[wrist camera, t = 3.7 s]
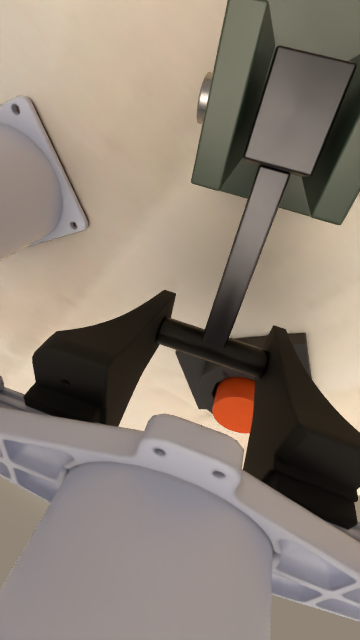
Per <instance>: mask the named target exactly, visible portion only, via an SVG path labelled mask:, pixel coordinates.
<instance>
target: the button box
mask: <svg viewBox="0 0 360 640" xmlns="http://www.w3.org/2000/svg"><path fill="white" fill-rule="evenodd" d="M267 337H268V336H265V337H253V338H241V339H235V340H238V341H241V342H244V343H247V344H250V345H253V346H256V347H259V348H262V347H263V345H264V343H265V341H266V339H267ZM289 338H290V340H291V342H292V344H293V346H294V349H295V351H296V353H297V355H298V357H299V359H300V361H301V362H302V364H303V366H304V368H305V369H306V371H307V373H308V374H309V376H310V377H311V372H310V364H309V356H308V348H307V341H306V334H305V333H301V334H289ZM176 355H177V358H178V360H179V363H180V365H181V367H182V370H183V372H184V375H185V377H186V379H187V382H188V384H189V387H190V389H191V391H192V394H193V396H194V399H195V401H196V403H197V406H198V408H199V409H207V410H208V411H210V412H211V413H212V414H213V412H212V409H213V404H214V400H215V396H216V391H217V387H218V385H219V384H220V383H221V382H222V381H223V380H225V379H227V378H230V377H246V378H249V379H252V380H255V377H254V376H251V375H248V374H245V373H242V372H240V371H237V370H234V369H231V368H228V367H225V366H222V365H219V364H216V363H213V362H210V361H207V360H205V359H202V358H199V357H196V356H193V355H190V354H187V353H184V352H181V351H178V350H176Z"/></svg>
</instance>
